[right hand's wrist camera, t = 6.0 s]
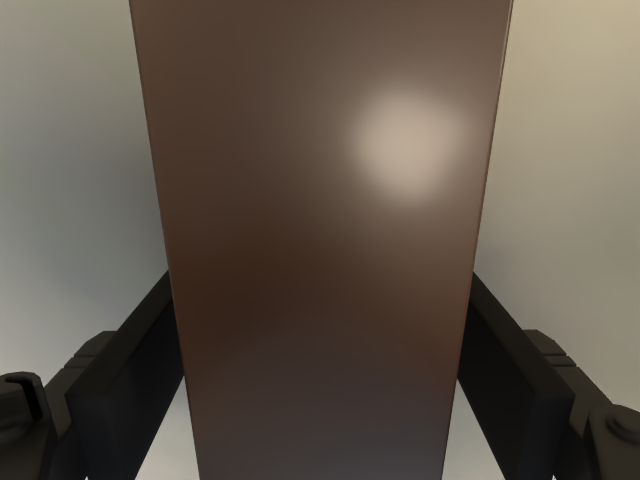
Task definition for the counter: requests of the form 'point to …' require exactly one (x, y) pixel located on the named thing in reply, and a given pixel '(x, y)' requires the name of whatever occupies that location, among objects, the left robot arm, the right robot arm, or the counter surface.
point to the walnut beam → (320, 221)
